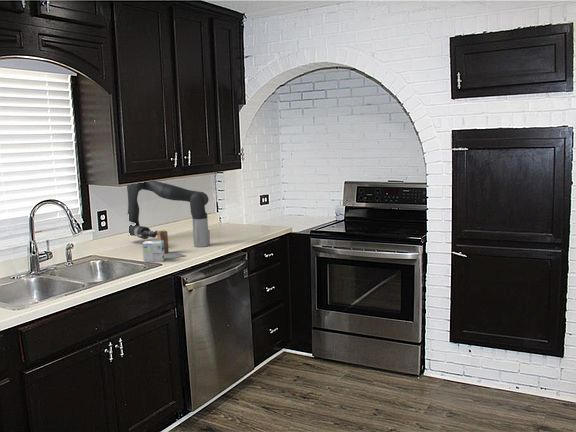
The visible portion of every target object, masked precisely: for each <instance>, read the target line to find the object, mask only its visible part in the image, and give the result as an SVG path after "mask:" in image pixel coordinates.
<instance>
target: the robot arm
mask: <svg viewBox="0 0 576 432" xmlns="http://www.w3.org/2000/svg"><path fill="white" fill-rule="evenodd" d="M126 189H127V215H128V214H129V221H130V222H129V221H128V222H129V223H133V224H134V223H136V225H135V226H132V225H130V226H129V233H130V235H131V236H134V237H137V238H139V239H142V240H148V239H149V238H157V231H158V230H151V229H150V228H149V227H147V226H143V225H140V220H139V217H140V206H139V202H138V195H139V192H140V191H143V190H144V191H149V192H152V193H154V194H155V195H157V196H158V197H159V198H162V199H166V200H171V201H180V202H186V203H187V202H189V208H190V215H191V217H192V218H191V219H192V234H193V237H192V238H193V246H194V247H195V248H205V247H208V246H211V233H210V229H209V223H208V222H209V221H208V219H209V218H208V213H207V212H206V205H207V204H208V203H209V197H208V194H206V193H205V192H203V191H196V190H190V189H188V188H187V189H186V188H183V187H179V186H177V185H174V184H170V183H165V182H162V181H161V182H160V181H158V180H157V181H156V180H153V181H149V182H144V183H138V184H131V185H127V184H126ZM131 236H130V237H131Z"/></svg>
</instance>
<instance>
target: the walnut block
mask: <svg viewBox="0 0 576 432" xmlns="http://www.w3.org/2000/svg"><path fill="white" fill-rule="evenodd" d="M156 231H157V236H156V238H157V240H156V241H164V254H167V253H170V249H169V237H168V236H169V234H168V231H167V230H164V229H163V230H156Z"/></svg>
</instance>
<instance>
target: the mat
mask: <svg viewBox="0 0 576 432" xmlns="http://www.w3.org/2000/svg"><path fill="white" fill-rule="evenodd" d="M183 257H187V255H185V254H182V253H180V252H176V251H173V252H169V253H167V254H165V259H164V260H167V261H168V260H173V259H177V258H183Z"/></svg>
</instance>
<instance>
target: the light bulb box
mask: <svg viewBox="0 0 576 432" xmlns="http://www.w3.org/2000/svg"><path fill="white" fill-rule="evenodd" d="M142 256H143V263H154V262H155V263H157V262H158V263H159V262H164V260H166V259H165V254H164V241H157V240H148V241H146V240H145V241H144V242H142Z"/></svg>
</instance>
